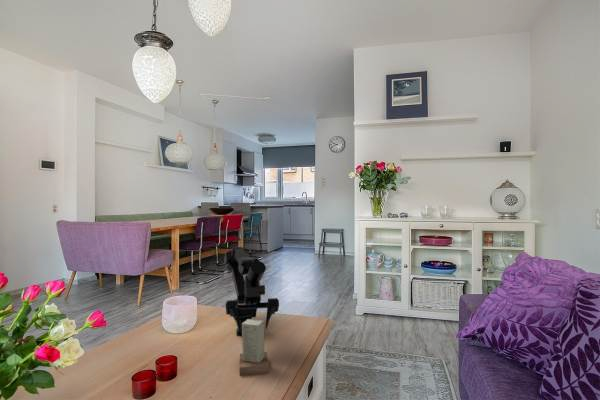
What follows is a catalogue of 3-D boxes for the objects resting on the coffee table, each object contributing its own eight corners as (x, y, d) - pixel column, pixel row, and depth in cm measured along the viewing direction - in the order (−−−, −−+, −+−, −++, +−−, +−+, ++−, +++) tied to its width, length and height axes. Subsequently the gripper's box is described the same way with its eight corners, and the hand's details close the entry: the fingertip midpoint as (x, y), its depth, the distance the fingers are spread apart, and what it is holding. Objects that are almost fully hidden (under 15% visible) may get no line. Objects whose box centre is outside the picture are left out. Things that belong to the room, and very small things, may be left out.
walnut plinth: (239, 361, 109) (239, 354, 109) (266, 359, 110) (266, 351, 110) (239, 375, 100) (239, 367, 100) (268, 372, 101) (268, 364, 101)
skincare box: (265, 357, 106) (264, 320, 106) (259, 363, 102) (259, 325, 102) (247, 354, 108) (247, 318, 108) (241, 360, 104) (241, 323, 104)
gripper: (226, 278, 114) (224, 320, 103) (278, 276, 117) (281, 317, 106) (227, 293, 122) (225, 335, 111) (276, 291, 125) (279, 331, 114)
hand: (253, 329), depth 110 cm, fingers open, 9 cm apart
